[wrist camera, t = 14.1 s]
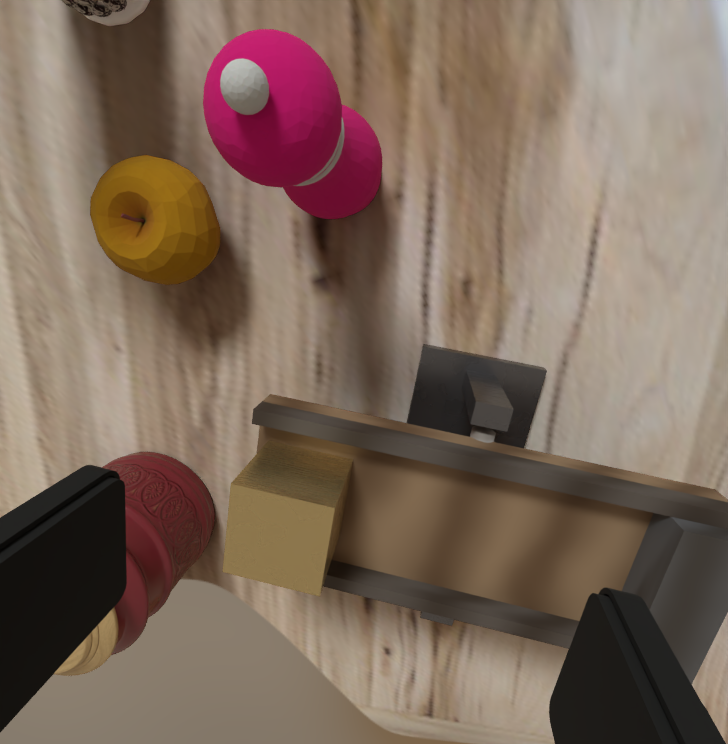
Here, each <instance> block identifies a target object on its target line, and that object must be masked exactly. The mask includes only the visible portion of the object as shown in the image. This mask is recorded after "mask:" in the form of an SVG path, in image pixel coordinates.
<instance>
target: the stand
mask: <svg viewBox="0 0 728 744" xmlns="http://www.w3.org/2000/svg"><path fill="white" fill-rule="evenodd" d="M546 372H547V370H546V369H545V368H543V367H538V366H533V365H528V364H523V363H518V362H512V361H507V360H502V359H497V358H492V357H487V356H482V355H477V354H472V353H467V352H462V351H457V350H452V349H446V348H441V347H436V346H431V345H426V344H423V349H422V354H421V358H420V363H419V368H418V372H417V377H416V382H415V386H414V391H413V396H412V400H411V405H410V410H409V414H408V419H407V423H408V424H412V425H417V426H421V427H426V428H431V429H435V430H440V431H445V432H449V433H454V434H459V435H463V436H468V437H470V434H471V430H472V427H473V426H482V427H486V428H489V429H491V430H493V431H494V432H495V433H496V435H495V439H494V442H496V443H501V444H505V445H510V446H515V447H519V448H524V445H525V442H526V438H527V435H528V432H529V428H530V425H531V422H532V418H533V415H534V412H535V408H536V405H537V402H538V398H539V395H540V392H541V388H542V385H543V382H544V378H545V375H546ZM420 618H424V619H427V620H431V621H435V622H439V623H443V624H447V625H451V626H452V624H453V621H454V619H450V618H446V617H442V616H438V615H434V614H430V613H426V612H423V611H421V616H420Z"/></svg>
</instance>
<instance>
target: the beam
mask: <svg viewBox="0 0 728 744" xmlns="http://www.w3.org/2000/svg"><path fill="white" fill-rule="evenodd" d="M252 424H256V425H260V429H259V438H258V446H257V453H258V452H259V451H260V450H261V449H262V447H263V446H264V445H265V444H266V443H267V442H268V441H273V442H277V443H282V444H286V445H291V446H295V447H300V448H304V449H309V450H313V451H318V452H322V453H327V454H331V455H336V456H340V457H345V458H349V459H353V463H352V469H351V475H350V480H349V486H348V491H347V497H346V503H345V508H344V514H343V519H342V525H341V530H340V535H339V538H338V541H337V545H336V548H335V551H334V554H333V557H332V560H331V563H330V566H329V569H328V572H327V576H326V579H325V582H324V585H323V586H324V587H328V588H332V589H336V590H340V591H344V592H348V593H352V594H356V595H360V596H363V597H367V598H371V599H375V600H379V601H383V602H387V603H391V604H395V605H399V606H403V607H407V608H411V609H415V610H419V611H423V612H426V613H430V614H434V615H438V616H442V617H446V618H450V619H454V620H458V621H462V622H466V623H470V624H474V625H478V626H482V627H486V628H489V629H493V630H497V631H501V632H505V633H509V634H513V635H517V636H521V637H525V638H529V639H533V640H537V641H541V642H545V643H549V644H552V645H556V646H560V647H564V648H568V649H569V648H570V645H571V642H572V640H573V637H574V634H575V632H576V629H577V626H578V624H579V621H580V618H581V616H582V613H583V610H584V608H585V605H586V602H587V600H588V598H589V596H590V595H591V594H592V593H596V594H599V592H600V590H601V589H603V588H611V589H615V590H619V591H623V592H628V593H632V594H636V595H638V596H640V597H641V598H642V599H643V600H644V601H645V603H646V605H647V607H648V608H649V610H650V612H651V614H652V616H653V617H654V619H655V621H656V623H657V624H658V626H659V628H660V630H661V631H662V633H663V635H664V637H665V639H666V640H667V642H668V644H669V646H670V647H671V649H672V651H673V653H674V655H675V656H676V658H677V660H678V662H679V663H680V665H681V667H682V669H683V671H684V672H685V674H686V676H687V678H688V679H689V681H690V683H691V684H692V682H693V680H694V678H695V676H696V674H697V672H698V670H699V668H700V666H701V664H702V662H703V660H704V658H705V656H706V654H707V652H708V650H709V648H710V646H711V644H712V642H713V640H714V638H715V636H716V634H717V632H718V630H719V628H720V626H721V624H722V622H723V620H724V618H725V616H726V614H727V612H728V500H727V499H726V498H725V497H724V496H722V495H721V494H720V493H719V492H718V491H716V490H715V489H710V488H705V487H701V486H696V485H691V484H687V483H682V482H677V481H673V480H668V479H663V478H659V477H654V476H649V475H645V474H640V473H635V472H631V471H626V470H622V469H617V468H612V467H608V466H603V465H598V464H594V463H589V462H584V461H580V460H575V459H570V458H566V457H561V456H556V455H552V454H547V453H542V452H538V451H533V450H528V449H524V448H519V447H515V446H510V445H505V444H501V443H496V442H494V439H495V435H496V433H495V432H494V431H493V430H491V429H489V428H486V427H482V426H473V427H472V430H471V434H470V437H468V436H463V435H459V434H454V433H449V432H445V431H440V430H435V429H431V428H426V427H421V426H417V425H412V424H408V423H403V422H398V421H394V420H389V419H384V418H380V417H375V416H370V415H366V414H361V413H356V412H352V411H347V410H342V409H338V408H333V407H328V406H324V405H319V404H314V403H310V402H305V401H301V400H296V399H291V398H287V397H282V396H277V395H273V394H270V395H269V396H268V397H267V398H266V399H265V400H264V401H262V402H261V403H260V404H259V405H258V406H257V407H256V408H254V409H253V419H252Z"/></svg>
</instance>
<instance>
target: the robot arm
mask: <svg viewBox="0 0 728 744" xmlns="http://www.w3.org/2000/svg"><path fill="white" fill-rule="evenodd" d="M126 584H127V569H126V510H125V483H124V482H123V481H122V480H120V476H119V474H118V472H116V471H114V470H109V469H105V468H101V467H97V466H93V465H86V466H84V467H82V468H80V469H79V470H77V471H75V472H74V473H72V474H70V475H69V476H67V477H66V478H64V479H62V480H61V481H59V482H57V483H56V484H54V485H53V486H51V487H49V488H48V489H46V490H44V491H43V492H41V493H40V494H38V495H36V496H35V497H33V498H31V499H30V500H28V501H27V502H25V503H23V504H22V505H20V506H19V507H17V508H15V509H14V510H12V511H10V512H9V513H7V514H6V515H4V516H2V517H1V518H0V732H1V731H2V730H3V729H4V727H6V726H7V724H8V723H9V722H10V721H11V720H12V719H13V718H14V717H15V716H16V715H17V713H18V712H19V711H20V710H21V709H22V708H23V707H24V706H25V705H26V704H27V702H28V701H29V700H30V699H31V698H32V697H33V696H34V695H35V694H36V693H37V691H38V690H39V689H40V688H41V687H42V686H43V685H44V684H45V683H46V681H47V680H48V679H49V678H50V677H51V676H52V675H53V674H54V673H55V672H56V671H57V669H58V668H59V667H60V666H61V665H62V664H63V663H64V662H65V661H66V660H67V658H68V657H69V656H70V655H71V654H72V653H73V652H74V651H75V650H76V649H77V647H78V646H79V645H80V644H81V643H82V642H83V641H84V640H85V639H86V638H87V636H88V635H89V634H90V633H91V632H92V631H93V630H94V629H95V628H96V627H97V625H98V624H99V623H100V622H101V621H102V620H103V619H104V618H105V617H106V616H107V614H108V613H109V612H110V611H111V610H112V609H113V608H114V607H115V606H116V605H117V603H118V602H119V601H120V599H121V598H122V596H123V594H124V592H125V589H126ZM549 714H550V723H551V728H552V732H553V736H554V741H555V744H726V743H725V741H724V740H723V738H722V736H721V734H720V733H719V731H718V729H717V727H716V726H715V724H714V722H713V720H712V718H711V717H710V715H709V713H708V711H707V710H706V708H705V707H704V705H703V704H702V702H701V701H700V699H699V697H698V695H697V694H696V692H695V690H694V688H693V686H692V685H691V683H690V681H689V679H688V678H687V676H686V674H685V672H684V671H683V669H682V667H681V665H680V663H679V662H678V660H677V658H676V656H675V655H674V653H673V651H672V649H671V647H670V646H669V644H668V642H667V640H666V639H665V637H664V635H663V633H662V631H661V630H660V628H659V626H658V624H657V623H656V621H655V619H654V617H653V616H652V614H651V612H650V610H649V608H648V607H647V605H646V603H645V601H644V600H643V599H642V598H641V597H640V596H638V595H636V594H632V593H628V592H623V591H619V590H615V589H611V588H603V589H601V590H600V592H599V594H596V593H592V594H591V595H590V596H589V598H588V600H587V602H586V605H585V608H584V610H583V613H582V616H581V618H580V621H579V624H578V626H577V629H576V632H575V634H574V637H573V640H572V642H571V645H570V648H569V651H568V653H567V656H566V659H565V661H564V664H563V667H562V669H561V672H560V675H559V677H558V680H557V683H556V685H555V688H554V691H553V693H552V696H551V700H550V706H549Z"/></svg>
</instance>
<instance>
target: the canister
mask: <svg viewBox="0 0 728 744" xmlns="http://www.w3.org/2000/svg"><path fill="white" fill-rule="evenodd" d="M102 468H105V469H109V470H114V471H116V472H118V474H119V476H120V480H122V481H123V482H124V483H125V510H126V569H127V584H126V589H125V592H124V594H123V596H122V598H121V599H120V601H119V602H118V603H117V605H116V606H115V607H114V608H113V609H112V610H111V611H110V612H109V613H108V614H107V616H106V617H105V618H104V619H103V620H102V621H101V622H100V623H99V624H98V625H97V627H96V628H95V629H94V630H93V631H92V632H91V633H90V634H89V635H88V636H87V638H86V639H85V640H84V641H83V642H82V643H81V644H80V645H79V646H78V647H77V649H76V650H75V651H74V652H73V653H72V654H71V655H70V656H69V657H68V658H67V660H66V661H65V662H64V663H63V664H62V665H61V666H60V667H59V668H58V669H57V671H56V672H55V673H54V674H56V675H66V676H67V675H68V676H70V675H71V676H72V675H80V674H85V673H88V672H90V671H93V670H95V669H97V668H98V667H100V666H101V665H102V664H103V663H104V662H105V661H106V660H107V659H108V658H109V657H110V656H111V655H113V654H116V653H119V652H121V651H123V650H125V649H126V648H128V647H129V646H131V645H132V644H133V643H134V642H135V641H136V640H137V639H138V638H139V636H140V635H141V633H142V632H143V630H144V627H145V626H146V623H147V619H148V617H150V616H152V615H153V614H155V613H156V612H157V611H158V610H159V609H160V608H161V607H162V606H163V605H164V603H165V602H166V600H167V599H168V597H169V595H170V592H171V591H172V589H173V588H174V586H175V585H176V584H177V583H178V581H179V580H180V579H181V577H182V576H183V575H184V574H185V572H186V571H187V570H188V568H189V567H190V566H192V565H193V564H194V563H195V562H196V561H197V560H198V558H199V557H200V555H201V554H202V553H203V552H204V550H205V548H206V546H207V544H208V542H209V539H210V537H211V535H212V532H213V528H214V522H215V512H214V506H213V502H212V499H211V497H210V494H209V492H208V490H207V489H206V487H205V485H204V484H203V482H202V481H201V480H200V478H199V477H198V476H197V475H196V474H195V473H194V472H193V471H192V470H191V469H190V468H188V467H187V466H186V465H184V464H183V463H181V462H179V461H178V460H176V459H174V458H172V457H169V456H167V455H163V454H159V453H154V452H138V453H133V454H130V455H127V456H124V457H121V458H118V459H115V460H113V461H111V462H110V463H108V464H107V465H105V466H103V467H102Z"/></svg>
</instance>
